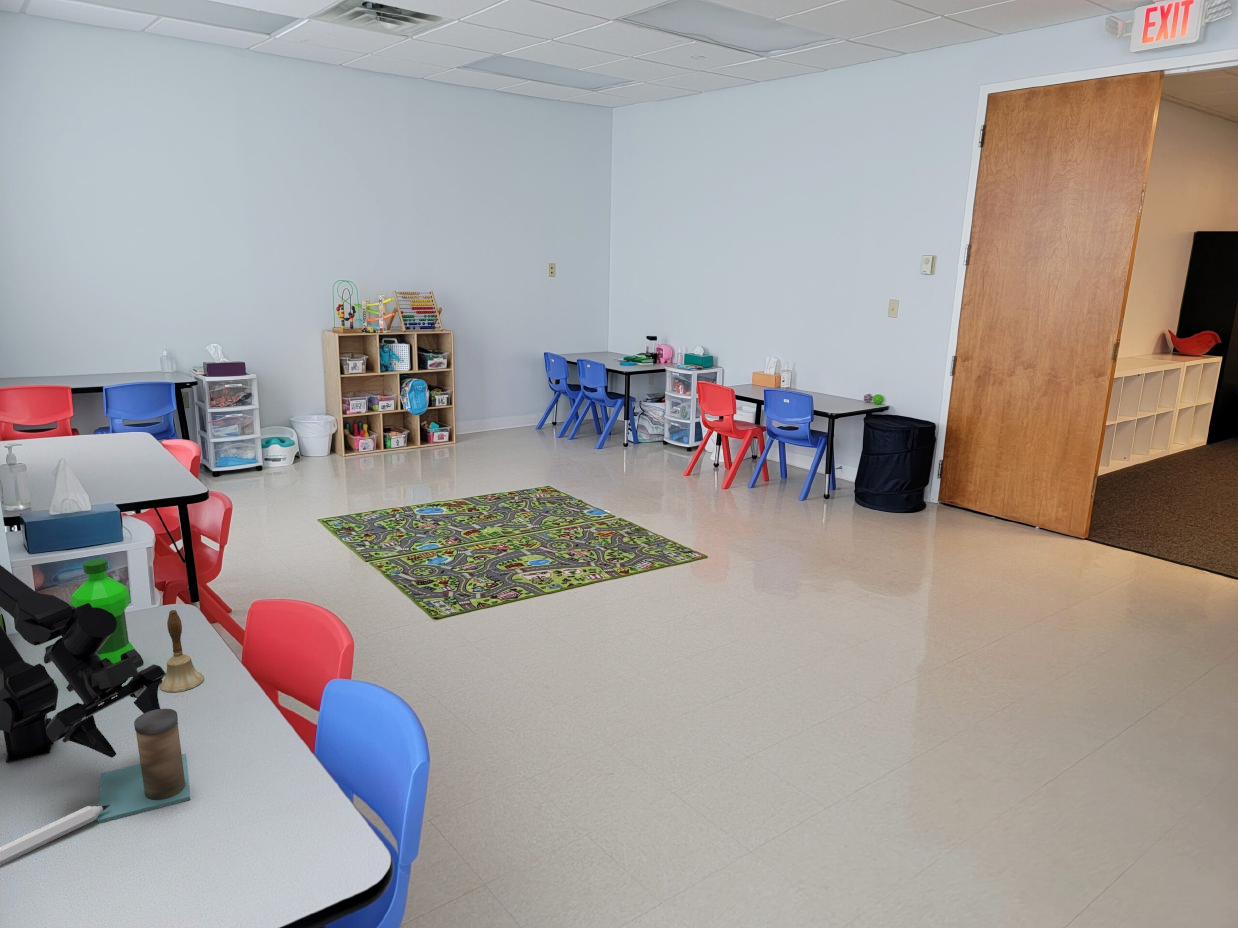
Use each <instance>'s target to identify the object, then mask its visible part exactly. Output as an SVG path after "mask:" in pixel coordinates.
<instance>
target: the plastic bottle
mask: <svg viewBox="0 0 1238 928" xmlns="http://www.w3.org/2000/svg"><path fill="white" fill-rule="evenodd" d="M82 567H83V573H84V574H85V575H87V580H85V581H84V582H83V583H82V584H81V585H80V586H79V587H78V589H76V591H75V592H73V594H72V595H71V597H70V601H69V605H70V606H73V607H75V608H77V607H78V606H81V605H83V604H86V603H90V605H91V606H92V607H93V608H101V609H104V610H107V611H108V612H110V613H112V614H113V615H114V616H115V618H116V621H117V627H116V630H115V631H114V632H113V633H112V635H111V636H110V637H109V638H108V640H107V641H106V642H105V643H104V645H103V646H102V647H101V648H100V650H98V651H97V654H98V655H99V656H100V658H101V659H102V660H103V659H105V658H107V659H109V660H110V661H111V662H112V663H116V662H118V661H120V660H121V657H120V656H121V654H123V653H125V652H127V651H130V650H132V649H135V646H133V644H132V643H131V642H130V641H129V634H128V626H127V620H126V612H125V610H126V609H127V607H128V606H129V605H130V601H131V595H130V591H129V589H128V588H127V586H126V585H124V584H122V583H121V582H119V581H117V580H115V579H114V578H111V577H110V576H107V571H108V570H109V564H108V560H107V559H106V558H94V559H93V558H92V559H90V560H86V561H84V562H83V563H82Z"/></svg>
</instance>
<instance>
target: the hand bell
mask: <svg viewBox="0 0 1238 928" xmlns="http://www.w3.org/2000/svg"><path fill="white" fill-rule="evenodd" d="M168 613H169V614H168V618H167V622H166V623H167V632H168V635H169V637H170V638H171V641H172V642H171V644H172V652H173V653H172V655H173V656H171V657H170V658H169V659H167V662H166V671H165V673H166V675H165V677H164V678H163V679H162V684H161V685H160V686H159V687H158V688H159V689H160V691H163V692H165V693H181V692H185V691H188V690H192V689H194V688H196V687H199V685H201V684H202V683H203V682H204V679H205V676H204V675H203V674H202V673H201V672H200V671H197V669H196V668H195V667H194V664H193V660H192V657H191V656H190V655H188V654H184V652H183V646H182V640H181V638H182V631H183V624H182V620H181V618H180V616H179V614H178V612H177V610H176V609H171V610H170V611H169V612H168Z"/></svg>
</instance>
